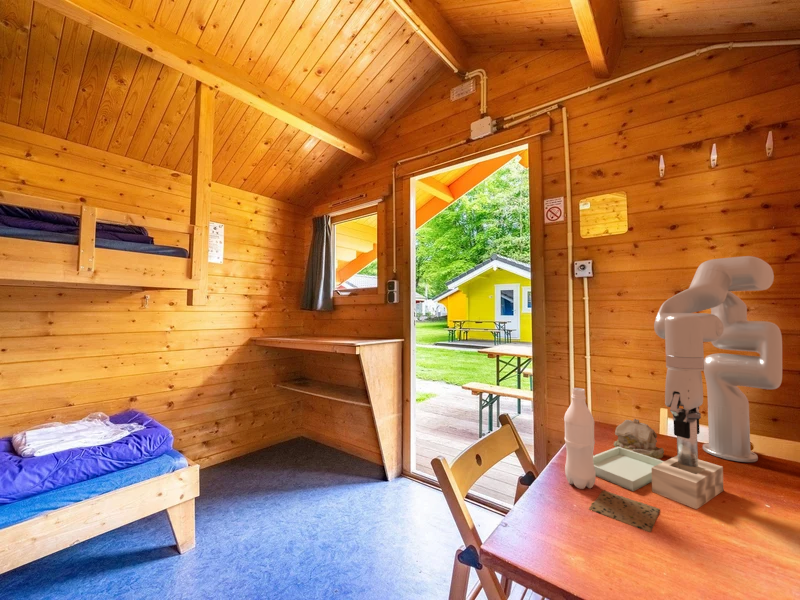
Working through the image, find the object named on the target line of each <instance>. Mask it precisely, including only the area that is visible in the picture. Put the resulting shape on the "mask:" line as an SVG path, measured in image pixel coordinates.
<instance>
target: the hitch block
mask: <svg viewBox="0 0 800 600" xmlns="http://www.w3.org/2000/svg"><path fill="white" fill-rule="evenodd" d="M663 461H664V462H662V463H660V464H658V465H656V466H654V467H652V482H651V491H652V493H653V494H654V493H655V494H657V495H659V496H662V497H664V498H667V499H670V500H671V501H674V502H677V503H679V504H682V505H685V506H687V507H689V508H693V509H695V510H698V509H699V508H700V507H702V506H703V505H705V504H707V503H708V502H709V501H711V500H713V499H714V498H715V497H717V496H718V495H719V494H720V493H722V492H723V491H724V466H722V465H718V464H715V463H712V462H708V461H704V460H701V459H699V458H698V466H697V467H690V466H686V465H683V464H680V463H679V462H678V457H677V455H675V456H674V457H673V456H672V457H671V458H669V459H667V460H663Z"/></svg>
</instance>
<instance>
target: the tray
mask: <svg viewBox="0 0 800 600" xmlns="http://www.w3.org/2000/svg"><path fill="white" fill-rule="evenodd" d="M664 461H665V460H661V459H655V458H652V457H649V456H646V455H643V454H640V453H637V452H634V451H630V450H627V449H624V448H621V447H612V448H610V449H608V450H605V451H602V452H600V453H597V454H595V455H594V454H593V462H594V468H595V472H596V477H598V478H599V479H602V480H605V481H606V482H610V483H612V484H614V485H617V486H619V487H621V488H624V489H627V490H628V491H631V492H634V491H637V490H639V489H641V488H642V487H643V488H644V486H647V485H648V484H650V483H652V467H654V466H656V465H658V464H660V463H662V462H664Z"/></svg>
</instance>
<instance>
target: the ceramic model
mask: <svg viewBox="0 0 800 600" xmlns="http://www.w3.org/2000/svg"><path fill="white" fill-rule="evenodd" d="M614 434H615V436H617V439H616V440H615V441H613V446H615V447H621V448H624V449H627V450H630V451H634V452H637V453H640V454H643V455H646V456H649V457H652V458H655V459H658V460H660V459H662V458H663V457H664V453H665V450H664V448H663V447H660V448H659V447H658V446H657V442H658V439H657V438H658V435H657V432H656V431H655V430H654V429H653V428H651V427H650V426H649V425H648V424H646V423H643V422H640V419H636V418H634V419H633V420H630V419H626V420H624V421H623V422H622V423H620V424H619V425H617V426H616V427H615V432H614ZM615 447H614V448H615Z"/></svg>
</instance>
